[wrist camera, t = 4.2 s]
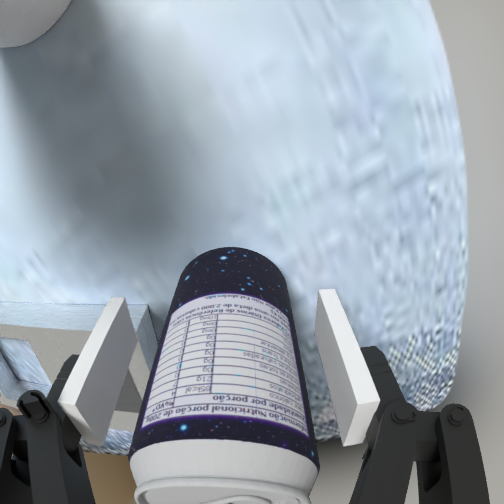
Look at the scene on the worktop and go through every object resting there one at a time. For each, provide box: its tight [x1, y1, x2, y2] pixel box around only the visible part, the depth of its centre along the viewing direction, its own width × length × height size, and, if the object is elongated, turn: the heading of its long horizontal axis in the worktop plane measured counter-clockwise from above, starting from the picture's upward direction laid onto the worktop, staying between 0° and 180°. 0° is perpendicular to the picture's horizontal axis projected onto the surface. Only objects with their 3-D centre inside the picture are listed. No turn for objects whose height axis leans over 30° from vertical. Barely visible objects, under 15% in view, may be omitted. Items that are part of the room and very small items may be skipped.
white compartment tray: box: [0, 301, 158, 432], centre depth 19 cm, size 24×10×3 cm, turn 92°
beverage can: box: [128, 247, 320, 504], centre depth 12 cm, size 6×6×12 cm
